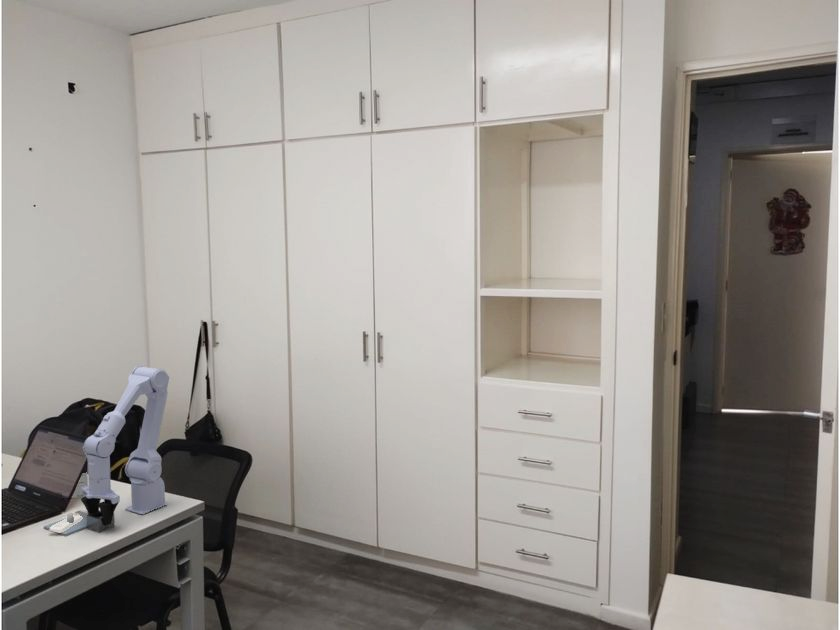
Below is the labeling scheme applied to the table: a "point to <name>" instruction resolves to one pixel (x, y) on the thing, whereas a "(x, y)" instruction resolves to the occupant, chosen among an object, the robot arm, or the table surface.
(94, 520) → the grey open box
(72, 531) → the keeper
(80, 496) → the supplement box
